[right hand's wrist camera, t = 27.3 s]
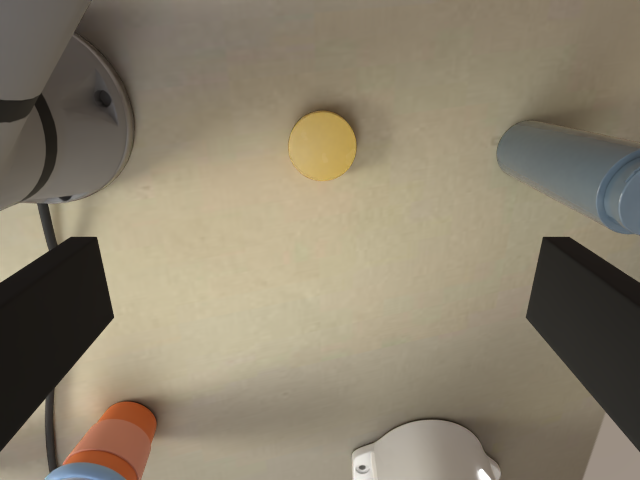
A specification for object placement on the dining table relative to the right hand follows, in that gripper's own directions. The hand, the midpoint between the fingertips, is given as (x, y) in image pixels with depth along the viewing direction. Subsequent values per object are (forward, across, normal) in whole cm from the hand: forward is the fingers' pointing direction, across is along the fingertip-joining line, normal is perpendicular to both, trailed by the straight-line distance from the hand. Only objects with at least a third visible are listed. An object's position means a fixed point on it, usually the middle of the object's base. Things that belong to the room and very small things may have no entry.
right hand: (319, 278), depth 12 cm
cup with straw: (+27, -23, -33) cm, 48 cm away
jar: (+27, +19, -1) cm, 33 cm away
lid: (+26, 0, 0) cm, 26 cm away
